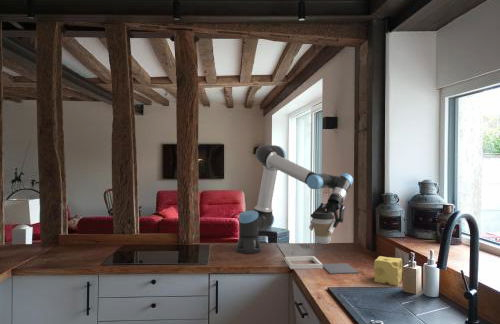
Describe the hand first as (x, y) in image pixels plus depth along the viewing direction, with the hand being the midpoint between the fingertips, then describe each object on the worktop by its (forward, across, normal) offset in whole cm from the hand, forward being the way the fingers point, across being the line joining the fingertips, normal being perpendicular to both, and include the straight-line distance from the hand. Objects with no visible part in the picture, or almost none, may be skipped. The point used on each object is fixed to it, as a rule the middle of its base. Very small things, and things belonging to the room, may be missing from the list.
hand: (320, 230), depth 188 cm
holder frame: (+14, +11, -13) cm, 22 cm away
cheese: (+10, -33, -18) cm, 39 cm away
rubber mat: (+10, -7, -18) cm, 21 cm away
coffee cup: (+3, 0, -6) cm, 7 cm away
